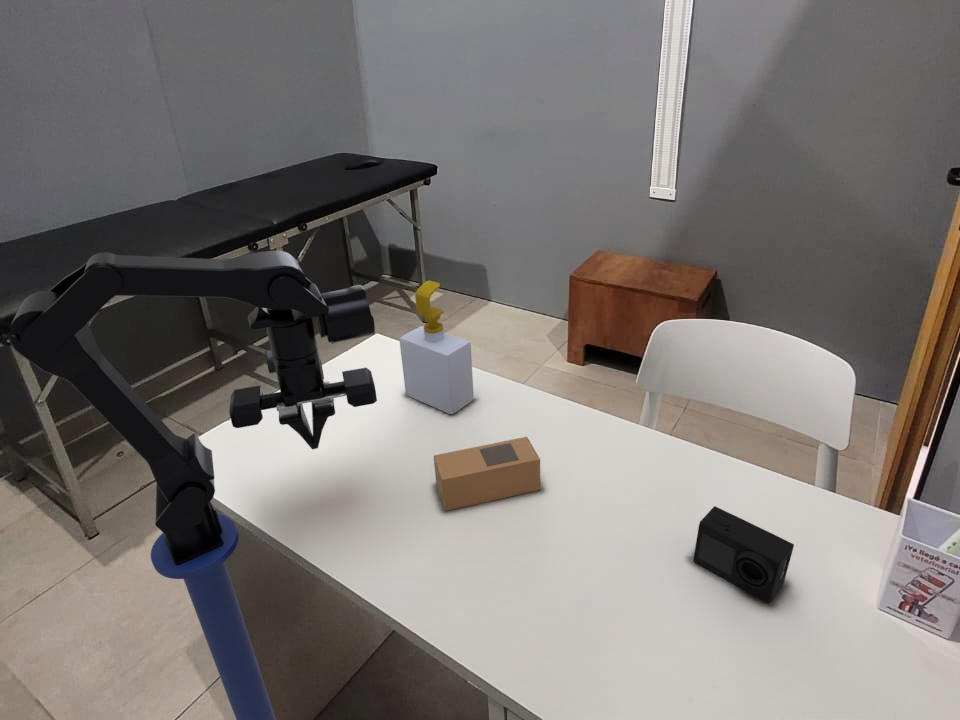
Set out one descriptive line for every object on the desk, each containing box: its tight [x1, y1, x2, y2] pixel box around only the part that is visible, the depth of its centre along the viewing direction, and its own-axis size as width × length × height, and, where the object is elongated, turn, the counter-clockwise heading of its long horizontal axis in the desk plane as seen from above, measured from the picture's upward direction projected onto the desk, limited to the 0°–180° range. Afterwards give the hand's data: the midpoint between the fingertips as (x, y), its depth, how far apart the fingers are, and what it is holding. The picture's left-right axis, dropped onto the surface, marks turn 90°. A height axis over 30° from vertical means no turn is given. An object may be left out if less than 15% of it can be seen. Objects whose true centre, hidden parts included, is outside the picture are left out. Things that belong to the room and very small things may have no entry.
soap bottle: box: [399, 279, 474, 415], centre depth 118 cm, size 12×7×23 cm, turn 51°
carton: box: [433, 436, 541, 512], centre depth 99 cm, size 6×6×15 cm
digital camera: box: [692, 505, 795, 604], centre depth 82 cm, size 10×5×7 cm, turn 46°
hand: (314, 447), depth 91 cm, fingers closed
